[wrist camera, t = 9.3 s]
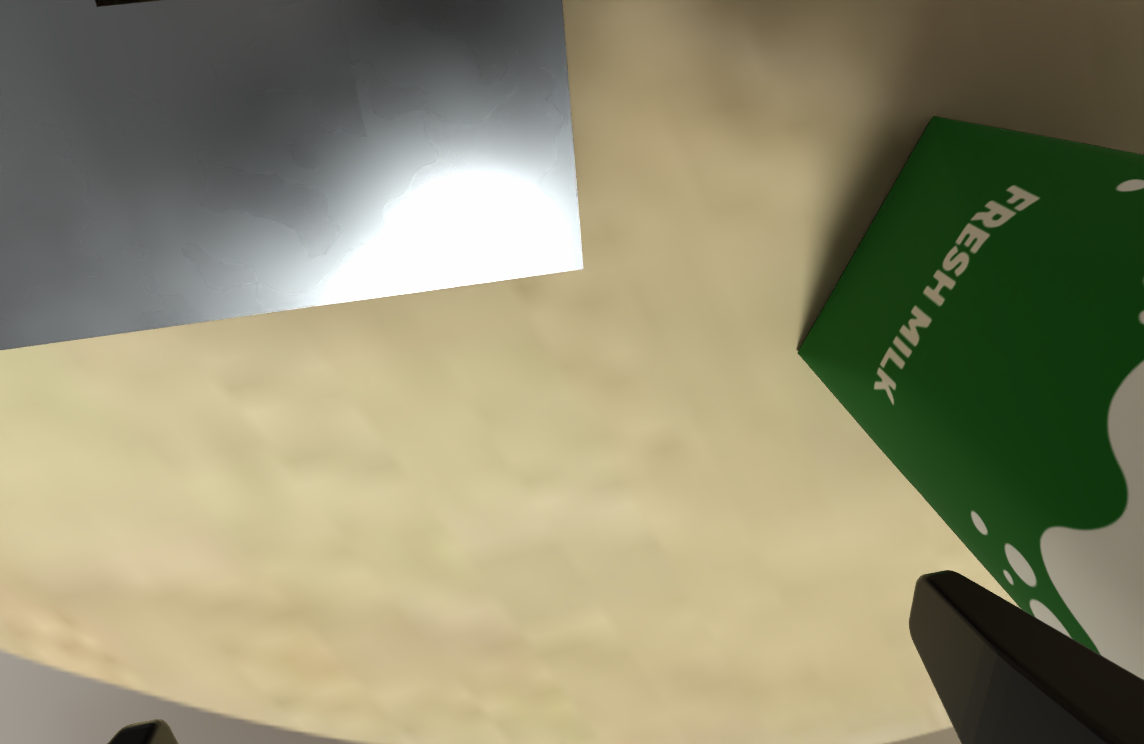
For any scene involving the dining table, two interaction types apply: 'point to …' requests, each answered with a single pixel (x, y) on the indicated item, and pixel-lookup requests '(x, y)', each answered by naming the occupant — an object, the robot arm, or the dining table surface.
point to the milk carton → (1010, 364)
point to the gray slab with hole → (274, 156)
